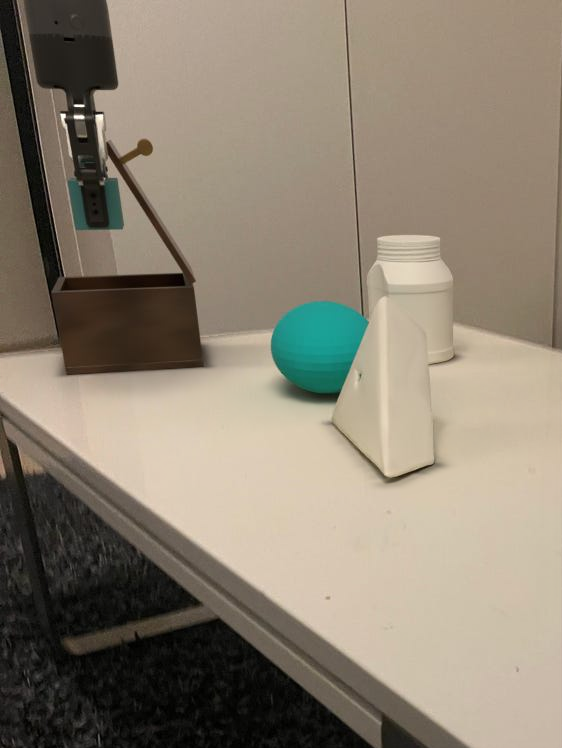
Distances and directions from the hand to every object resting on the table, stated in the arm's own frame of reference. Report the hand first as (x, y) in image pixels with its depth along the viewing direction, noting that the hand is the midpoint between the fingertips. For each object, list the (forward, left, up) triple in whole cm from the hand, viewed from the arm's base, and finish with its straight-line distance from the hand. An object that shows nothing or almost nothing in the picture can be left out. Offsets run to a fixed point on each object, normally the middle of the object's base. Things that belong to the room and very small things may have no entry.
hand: (99, 223), depth 103 cm
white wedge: (+26, -25, -19) cm, 41 cm away
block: (0, 0, 0) cm, 0 cm away
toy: (+23, 0, -19) cm, 30 cm away
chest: (+1, +24, -19) cm, 31 cm away
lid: (+5, +24, -1) cm, 25 cm away
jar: (+37, +16, -19) cm, 44 cm away
